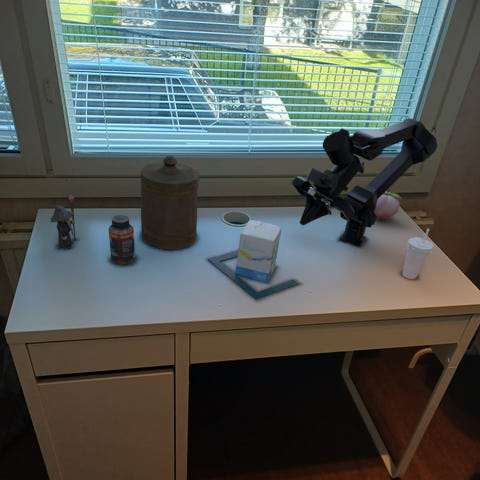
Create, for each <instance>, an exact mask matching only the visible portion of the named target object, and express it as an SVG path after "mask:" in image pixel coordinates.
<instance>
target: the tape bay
mask: <svg viewBox="0 0 480 480" xmlns="http://www.w3.org/2000/svg"><path fill="white" fill-rule="evenodd" d="M235 258H238V250H236V251H232V252H230V253H226V254H222V255H219V256H216V257H212V258H209V259H207V260H208V261H209V262H210V263H211V264H212V265H214V267H216V268H217V269H218V270H219V271H221V272H222V273H223V274H224V275H225V276H227V277H228V278H229V279H231V280H232V281H233V282H234V283H235V284H236V285H238V286H239V287H240V288H241V289H242V290H244V291H245V292H246V293H247V294H248V295H250V296H251V298H253V299H255V300H259V299H261V298H264V297H267V296H271V295H273V294H275V293H278V292H280V291H283V290H286V289H289V288H292V287H294V286H297V285H299V283H298V282H297V281H296V280H295V279H291V280H288V281H286V282H285V281H284V282H282V283H279V284H277V285H274V286H270V287H268V288H265V289H263V290H260V291H257V290H255V289H254V288H253V287H252V286H251V285H249V284H248V283H247V282H245V281H244V280H243V279H242V278H241V277H239V275H237V274H236V273H235V272H233V271H232V270H231V269H230V268H228V267H227V266H226V265H225V264H223V263H222V262H223V261H226V260H229V259H230V260H231V259H235Z"/></svg>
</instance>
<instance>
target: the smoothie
mask: <svg viewBox="0 0 480 480" xmlns="http://www.w3.org/2000/svg"><path fill="white" fill-rule="evenodd" d="M429 232H430V227H429V228H428V227H427V228H426V231H425V233H424V237H423V238H422V237H410V238H409V239H408V241H407V243H406V244H407V248H406V253H405V257H404V258H405V259H404V263H403V268H402V273H401V275H402V276H403V277H404V278H406V279H409V280H415V279H417V277H418V275H419V273H420V271H421V270H422V268H423V266H424V264H425V262H426V260H427V259H428V257H429V255H430V253H432V252H433V250H434V244H433V243H432V242H431V241H430V240H428V239H427V237H428V235H429Z"/></svg>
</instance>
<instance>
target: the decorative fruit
mask: <svg viewBox="0 0 480 480" xmlns="http://www.w3.org/2000/svg"><path fill="white" fill-rule="evenodd" d="M400 201H403V199H402V197H401V196H400V195H399V194H398V193H395V192H390V189H388V190H387V191H385V192H384V193H383V194H382V195H381V196H380V197H379V199H378V200H377V204H376V209H375V210H374V213H375V215H376V216H377V219H378V220H387V219H389V218H392V217H393V216H395V215H396V214H397V213H398V211H399V209H400Z"/></svg>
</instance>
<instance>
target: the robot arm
mask: <svg viewBox="0 0 480 480" xmlns="http://www.w3.org/2000/svg"><path fill="white" fill-rule="evenodd" d="M399 143H401V148H400V152H399V153H398V154H397V155H396V156H395V157H393V159H392V160H390V162H389V163H388V164H386V166H384V168H382V169H381V170H380V172H379V173H377V175H376V176H374V177H373V179H372V180H371V181H369V182H368V183H367V184H366V185H365V186H361V185H359V184H357V185H355V186H353V188H352V189H351V190H350V191H349V192H347V191H348V190H349V188H348V185H349V184H350V182H351V181H352V180H353V179H354V177H355V176H356V175H357V174H358V173H359V174H361V175H362V174H364V173H365V167H364V166H365V161H362V160H360V158H361V159H365V160H367V161H373V160H375V159H376V158H379V156H381V155H382V154H383V151H384V149H386V148H389V147H392V146H395V145H398V144H399ZM322 148H323V150H324V153H325V154H326V155H327V157H328V158H329V161H330V163H331V164H332V165H333V166H332V168H331V169H328V168H327V169H325V170H324V171H323V172H322V171H320V170H318V169H316V168H314V167H310V168H309V171H308V173H307V176H306V177H305V178H304V177H303V176H301V175H298V176H296V177H294V178H293V180H292V181H291V182H290V183H291V185H292V186H293V187H294V189H295V190H296V191H297V193H298V194H299V195H300V196H302V197H303V198H305V199H306V201H305V206H304V210H303V211H302V214H301V218H300V219H299V224H300V225H301V226H306V225H307V224H309V223H312V222H313V221H316V220H318V219H320V218H323V217H325V216H331V215H333V213H332V212H333V210H336V211H338V212H339V216H340V218H341V219H343V220H344V221H346V224H345V228H344V232H343V233H342V234H341V235H340V237H339V238H338V239H339V241H341V242H344V243H347V244H351V245H354V246H357V247H361V246H363V245H362V244H364V242H365V241H366V239H367V236H366V235H365V233H366V229H367V228H372V226H374V225H375V224H376V222H377V219H378V218H377V216H376V215H375V213H374V210H375V209H376V204H377V200H378V199H379V197H380V196H381V195H382V194H383V193H384V192H387V191H388V190H390V188H391V187H392V186H393V185H394V184H395V183H396V182H397V181H398V180H399V179H400V178H401V177H402V176H403V175H404V174H405V173H406V172H407V171H408V170H409V169H410V168H411V167H412V166H414V165H417V164H420V163H423V162H425V161H427V159H429V158H430V157H431V156H433V155H434V153H436V150H437V148H438V142H437V138H436V137H435V136H434V135H433V134H432V133H431V132H430V130H428V129H427V128H426V126H425V125H424V124H423V122H422V121H419V120H417V119H414V118H411V117H409V118H405V119H404V120H403V121H400V122H397V123H394V124H391V125H388V126H385V127H383V128H381V129H376V130H375V129H374V130H373V129H361V130H357V131H355V132H354V133H353V134H350V131H349V130H348V129H346V128H343V127H342V128H340V129H339V131H334V132H332V133H330V134H329V135H326V136H325V137H324V139H323V141H322ZM311 182H312V183H311ZM342 192H347V193H346V196H344V198H343V197H341V196H340V195H341V194H342Z"/></svg>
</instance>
